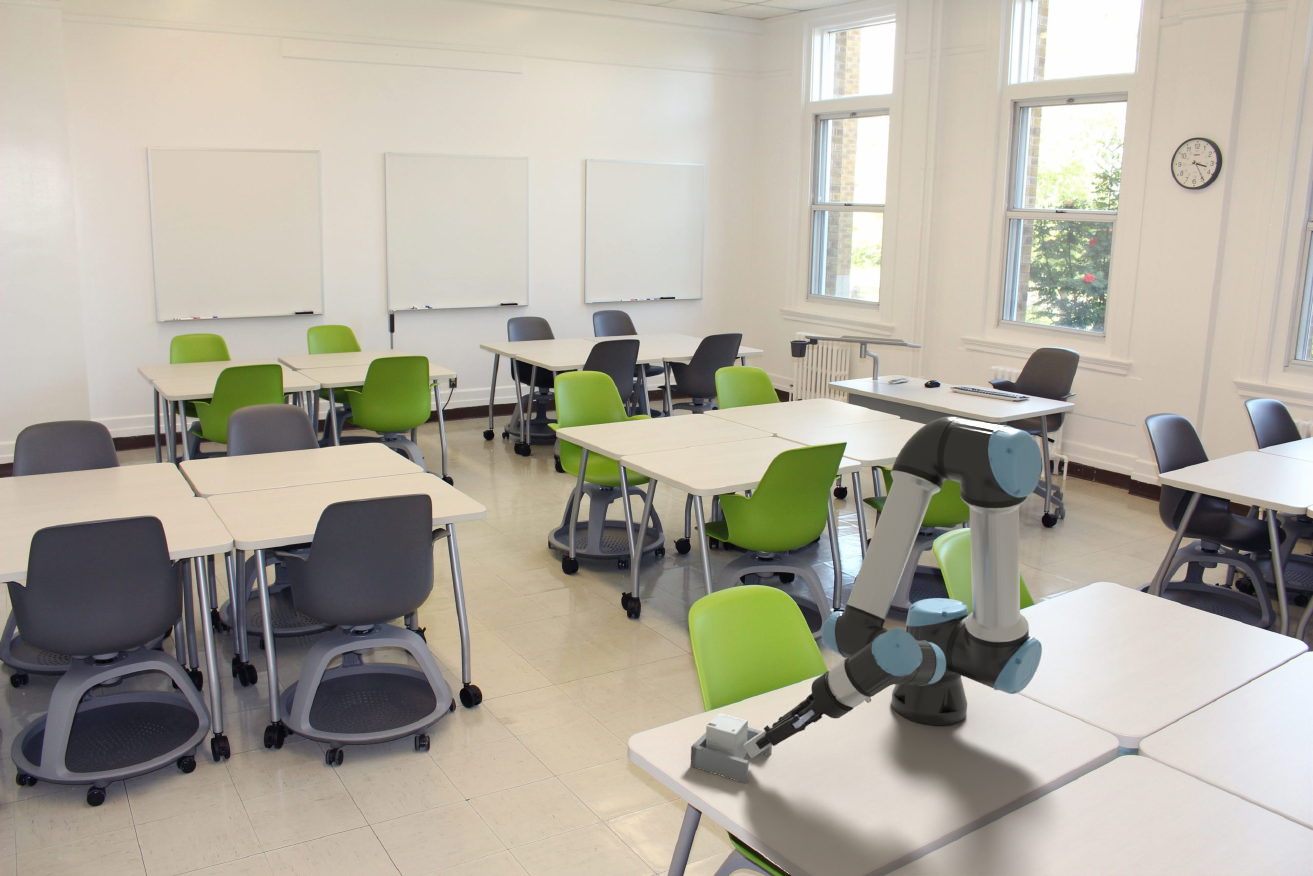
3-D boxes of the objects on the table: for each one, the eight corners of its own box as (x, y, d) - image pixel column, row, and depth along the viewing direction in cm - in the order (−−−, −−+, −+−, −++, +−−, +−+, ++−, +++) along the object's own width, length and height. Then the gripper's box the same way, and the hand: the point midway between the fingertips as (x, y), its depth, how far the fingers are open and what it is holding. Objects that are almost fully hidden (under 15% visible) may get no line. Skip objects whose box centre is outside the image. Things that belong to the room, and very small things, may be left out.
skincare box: (747, 755, 189) (749, 719, 187) (734, 770, 184) (736, 734, 182) (717, 747, 192) (719, 711, 190) (704, 761, 187) (705, 725, 185)
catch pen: (718, 737, 195) (719, 719, 194) (771, 753, 190) (772, 734, 189) (690, 766, 185) (691, 746, 184) (745, 783, 180) (746, 763, 179)
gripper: (842, 723, 167) (746, 784, 179) (867, 692, 179) (775, 751, 190) (814, 686, 169) (720, 749, 180) (840, 657, 180) (750, 718, 191)
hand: (748, 750), depth 185 cm, fingers closed
